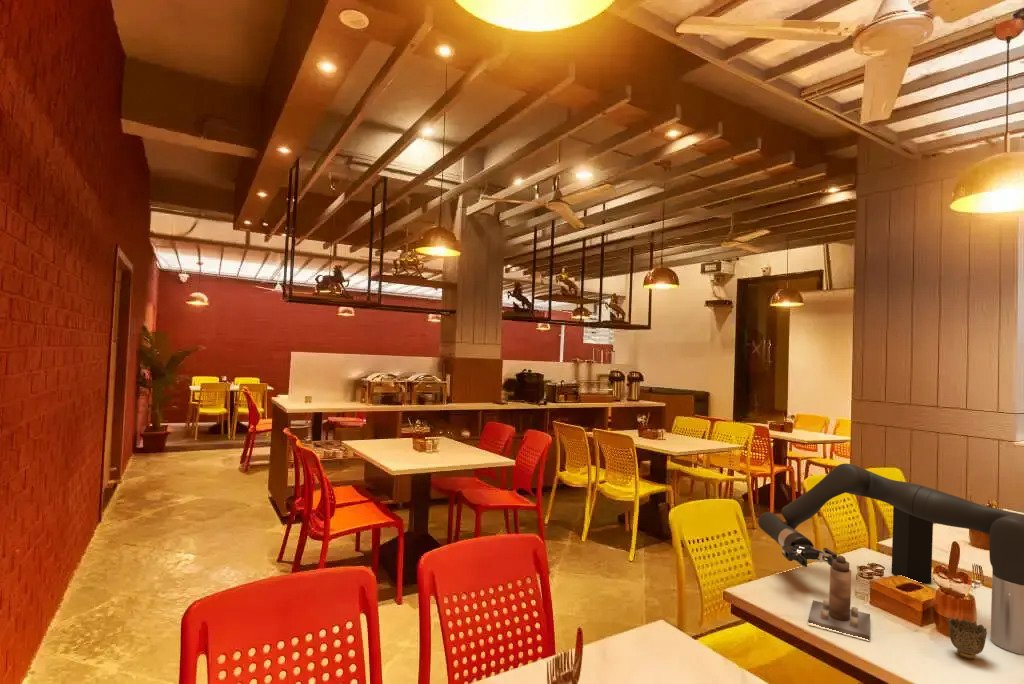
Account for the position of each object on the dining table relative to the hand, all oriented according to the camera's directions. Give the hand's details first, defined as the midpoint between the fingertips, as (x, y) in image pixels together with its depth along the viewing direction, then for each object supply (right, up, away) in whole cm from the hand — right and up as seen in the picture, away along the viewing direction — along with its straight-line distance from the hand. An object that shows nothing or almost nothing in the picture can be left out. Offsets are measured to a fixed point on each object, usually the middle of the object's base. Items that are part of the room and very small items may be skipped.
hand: (820, 564), depth 163 cm
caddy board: (-1, -12, -10) cm, 16 cm away
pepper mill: (-1, -10, -10) cm, 14 cm away
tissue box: (+41, -13, +20) cm, 47 cm away
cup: (+21, -13, -26) cm, 36 cm away
